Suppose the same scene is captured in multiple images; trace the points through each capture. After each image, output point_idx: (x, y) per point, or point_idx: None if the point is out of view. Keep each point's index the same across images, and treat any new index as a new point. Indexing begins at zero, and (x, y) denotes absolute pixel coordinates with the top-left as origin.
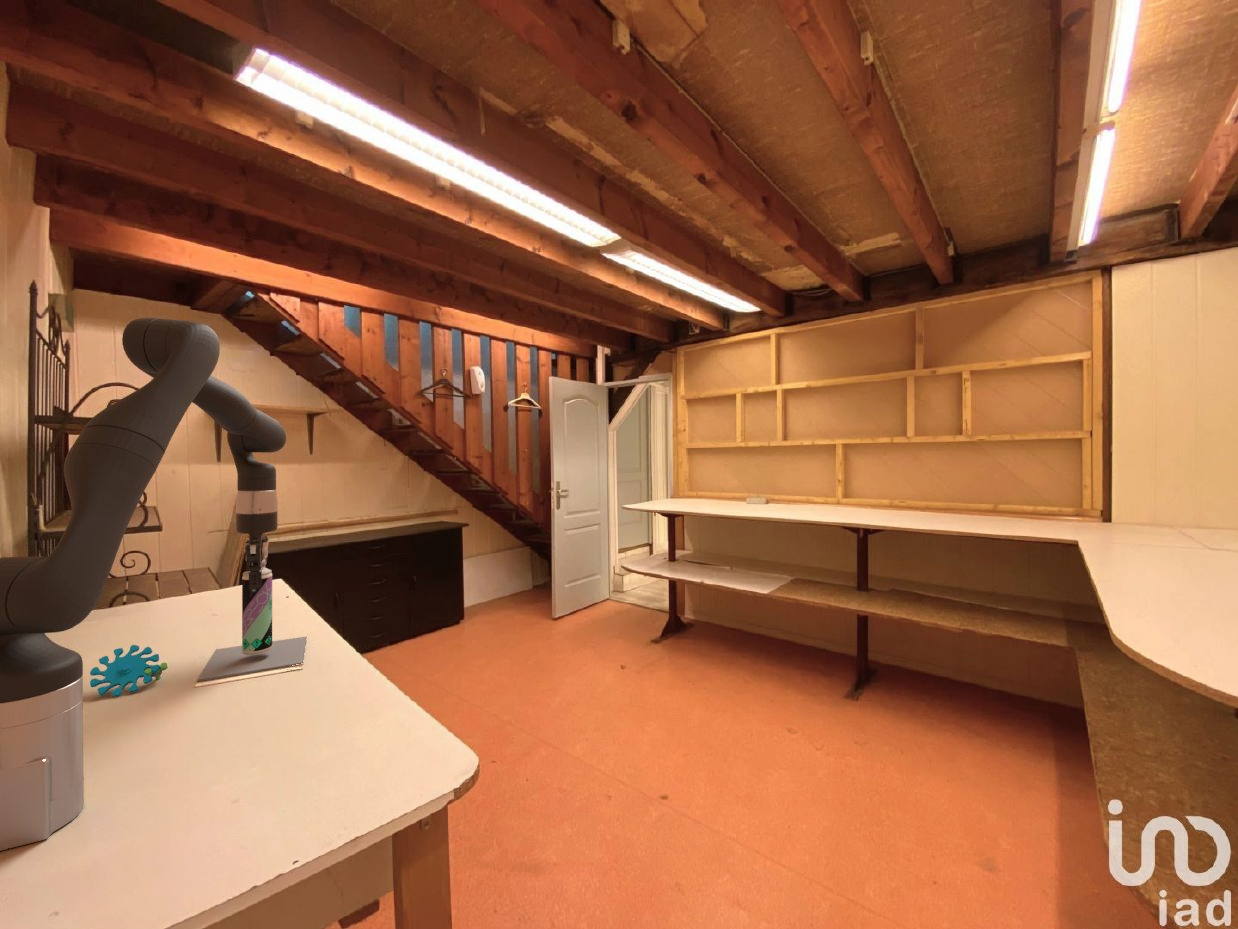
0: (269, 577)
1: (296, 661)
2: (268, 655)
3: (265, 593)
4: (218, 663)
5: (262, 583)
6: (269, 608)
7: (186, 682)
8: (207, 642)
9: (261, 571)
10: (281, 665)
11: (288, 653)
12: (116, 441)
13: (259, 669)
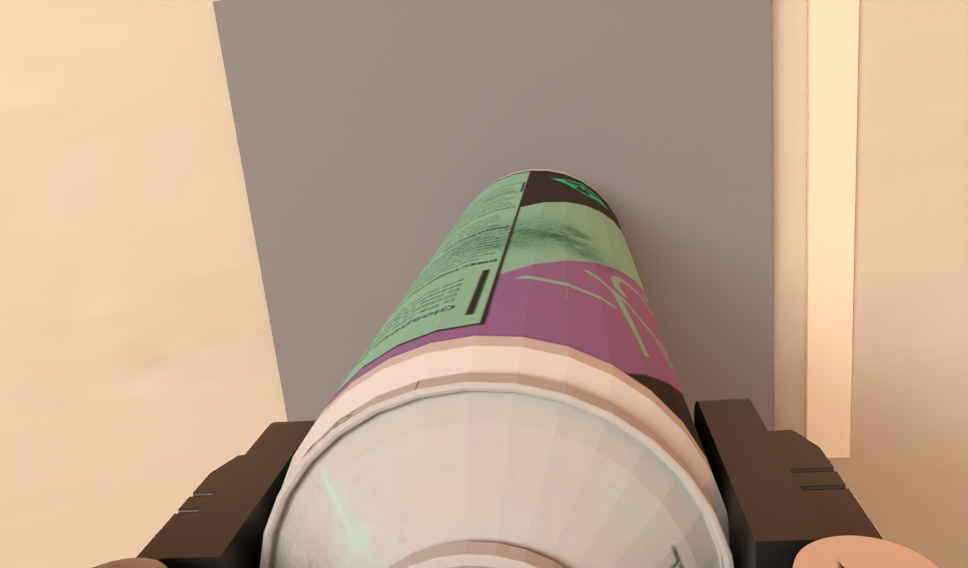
0: (599, 358)
1: None
2: None
3: (638, 320)
4: None
5: (685, 412)
6: (583, 236)
7: None
8: (128, 549)
9: (896, 544)
10: (763, 68)
11: (538, 65)
12: None
13: (771, 187)
